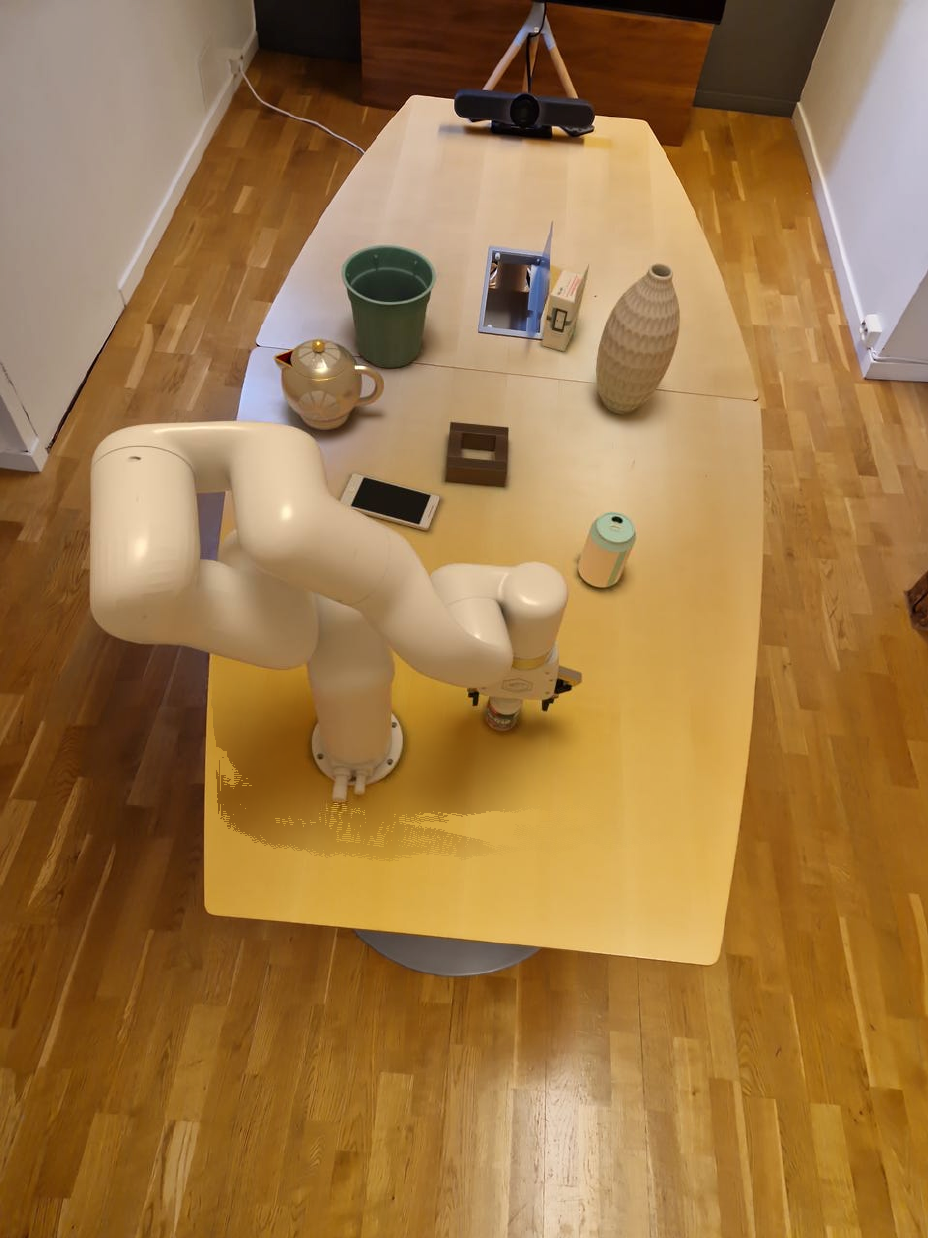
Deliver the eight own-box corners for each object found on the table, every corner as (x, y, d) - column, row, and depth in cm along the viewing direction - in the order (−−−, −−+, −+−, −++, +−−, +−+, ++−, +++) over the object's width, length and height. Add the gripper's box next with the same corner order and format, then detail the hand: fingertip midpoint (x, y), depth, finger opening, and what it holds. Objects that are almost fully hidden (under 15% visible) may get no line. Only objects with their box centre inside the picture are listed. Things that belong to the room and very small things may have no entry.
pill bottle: (479, 721, 117) (484, 696, 110) (494, 696, 119) (500, 669, 112) (508, 737, 116) (516, 712, 109) (523, 710, 118) (531, 685, 111)
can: (570, 560, 133) (584, 514, 123) (608, 549, 135) (626, 503, 124) (588, 594, 130) (605, 550, 119) (627, 583, 131) (647, 538, 121)
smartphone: (353, 475, 138) (353, 472, 138) (440, 499, 137) (440, 495, 136) (338, 507, 135) (338, 503, 134) (427, 531, 134) (427, 528, 133)
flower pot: (373, 307, 161) (370, 232, 147) (446, 336, 158) (451, 263, 145) (330, 357, 153) (323, 283, 139) (407, 388, 150) (408, 316, 136)
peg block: (504, 487, 140) (507, 471, 136) (445, 481, 140) (446, 465, 136) (506, 443, 145) (508, 427, 142) (449, 437, 145) (450, 421, 141)
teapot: (278, 440, 141) (266, 367, 127) (286, 385, 148) (275, 310, 134) (382, 445, 143) (381, 373, 129) (385, 390, 150) (385, 316, 136)
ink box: (552, 319, 163) (565, 253, 151) (576, 326, 163) (591, 260, 150) (540, 345, 159) (552, 280, 146) (564, 352, 158) (579, 287, 146)
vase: (603, 368, 157) (641, 235, 133) (663, 396, 154) (713, 264, 130) (573, 408, 151) (608, 275, 127) (635, 437, 148) (682, 307, 124)
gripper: (450, 661, 96) (445, 719, 111) (595, 672, 97) (572, 728, 111) (454, 607, 100) (449, 670, 115) (594, 618, 100) (571, 679, 115)
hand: (509, 699), depth 113 cm, fingers open, 9 cm apart
